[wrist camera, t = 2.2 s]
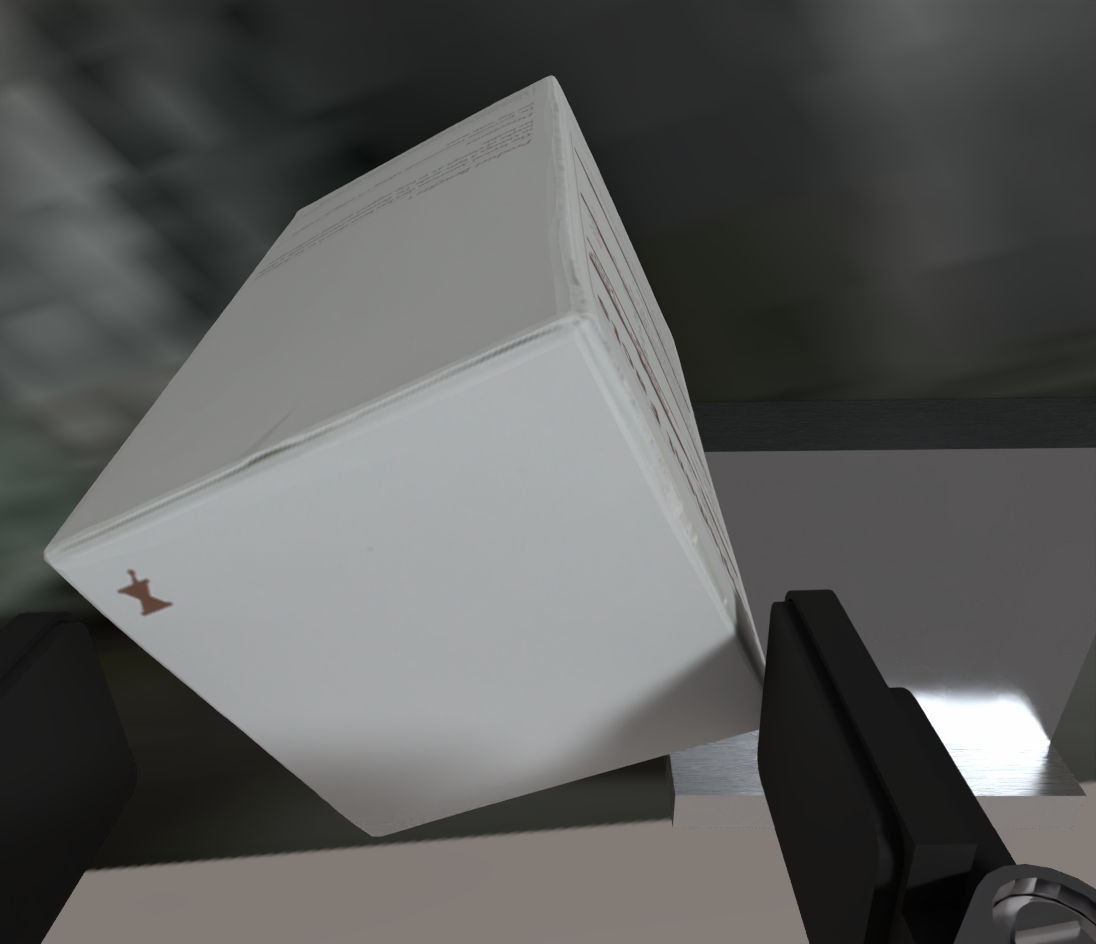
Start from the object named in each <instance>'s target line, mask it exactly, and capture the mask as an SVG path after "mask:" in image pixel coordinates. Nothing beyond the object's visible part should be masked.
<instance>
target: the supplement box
mask: <svg viewBox="0 0 1096 944" xmlns="http://www.w3.org/2000/svg"><path fill="white" fill-rule="evenodd" d="M44 560H45V561H46V562H47V563H48V564H49V565H51V566H52V567H53V568H54V569H55V570H56V571H57V572H58V573H59V574H60V575H61V576H62V577H63V578H64V579H66V580H67V581H68V582H69V583H70V584H71V585H72V586H73V587H74V588H75V589H76V590H77V591H78V592H79V593H81V594H82V595H83V596H84V597H85V598H86V599H87V600H88V601H89V602H90V603H91V604H92V605H93V606H94V607H96V608H97V609H98V610H99V611H100V612H101V613H102V614H103V615H104V616H105V617H107V618H108V619H109V620H110V621H111V622H112V623H114V624H115V625H116V626H117V627H118V628H119V629H121V630H122V631H123V632H124V633H125V634H126V635H127V636H129V637H130V638H131V639H132V640H133V641H134V642H136V643H137V644H138V645H139V646H140V647H141V648H143V649H144V650H145V651H146V652H147V653H148V654H150V655H151V656H152V657H153V658H155V659H156V660H157V661H158V662H159V663H161V664H162V665H163V666H164V667H165V668H167V669H168V670H169V671H170V672H172V673H173V674H174V675H175V676H176V677H178V678H179V679H180V680H181V681H182V682H184V683H185V684H186V685H187V686H188V687H190V688H191V689H192V690H193V691H194V692H196V693H197V694H198V695H199V696H200V697H202V698H203V699H204V700H205V701H206V702H208V703H209V704H210V705H211V706H212V707H213V708H215V709H216V710H217V711H218V712H220V713H221V714H222V715H223V716H225V717H226V718H227V719H228V720H230V721H231V722H232V723H233V724H235V725H236V726H237V727H238V728H239V729H241V730H242V731H243V732H244V733H245V734H247V735H248V736H249V737H250V738H251V739H252V740H254V741H255V742H256V743H257V744H258V745H259V746H261V747H262V748H263V749H264V750H265V751H267V752H268V753H269V754H270V755H271V756H273V757H274V758H275V759H276V760H277V761H279V762H280V763H281V764H282V765H283V766H285V767H286V768H287V769H288V770H289V771H291V772H292V773H293V774H294V775H296V776H297V777H298V778H299V779H300V780H302V781H303V782H304V783H305V784H306V785H308V786H309V787H310V788H312V789H313V790H314V791H315V792H316V793H317V794H318V795H319V796H320V797H321V798H323V799H324V800H326V801H327V802H328V803H329V804H330V805H331V806H332V807H333V808H335V809H336V810H337V811H338V812H339V813H341V814H342V815H343V816H345V817H346V818H347V819H348V820H350V821H351V822H352V823H354V824H355V825H356V826H358V827H359V828H361V829H362V830H364V831H365V832H366V833H368V834H369V835H371V836H384V835H387V834H391V833H395V832H398V831H402V830H405V829H408V828H412V827H415V826H418V825H421V824H425V823H428V822H431V821H434V820H438V819H441V818H445V817H449V816H452V815H455V814H459V813H462V812H465V811H469V810H472V809H476V808H480V807H483V806H487V805H490V804H494V803H497V802H501V801H504V800H508V799H511V798H515V797H518V796H522V795H525V794H529V793H533V792H536V791H540V790H543V789H547V788H550V787H554V786H557V785H561V784H564V783H568V782H572V781H575V780H579V779H582V778H586V777H589V776H593V775H596V774H600V773H604V772H607V771H611V770H614V769H618V768H621V767H625V766H628V765H632V764H636V763H639V762H643V761H646V760H650V759H653V758H657V757H660V756H664V755H668V754H671V753H675V752H678V751H682V750H685V749H689V748H693V747H696V746H700V745H704V744H708V743H712V742H715V741H719V740H723V739H727V738H730V737H734V736H738V735H741V734H745V733H749V732H752V731H756V730H759V727H760V717H761V706H762V696H763V685H764V675H765V664H766V662H765V658H764V655H763V652H762V649H761V645H760V642H759V639H758V635H757V632H756V629H755V625H754V622H753V618H752V615H751V612H750V608H749V605H748V601H747V597H746V594H745V590H744V587H743V583H742V580H741V576H740V573H739V570H738V566H737V563H736V560H735V556H734V553H733V550H732V546H731V543H730V540H729V536H728V533H727V530H726V526H725V523H724V520H723V517H722V513H721V510H720V507H719V503H718V500H717V497H716V493H715V490H714V487H713V483H712V480H711V476H710V473H709V469H708V465H707V462H706V458H705V455H704V451H703V447H702V443H701V440H700V436H699V432H698V428H697V425H696V421H695V418H694V413H693V409H692V407H691V403H690V399H689V395H688V391H687V388H686V384H685V380H684V376H683V372H682V369H681V365H680V361H679V357H678V354H677V350H676V347H675V344H674V340H673V337H672V335H671V333H670V330H669V328H668V326H667V324H666V322H665V320H664V317H663V315H662V313H661V311H660V308H659V306H658V304H657V302H656V299H655V297H654V295H653V292H652V290H651V288H650V285H649V283H648V281H647V279H646V276H645V274H644V272H643V269H642V267H641V265H640V263H639V260H638V258H637V256H636V253H635V251H634V249H633V246H632V244H631V242H630V240H629V237H628V235H627V233H626V231H625V228H624V226H623V224H622V222H621V219H620V217H619V215H618V213H617V210H616V208H615V206H614V204H613V201H612V199H611V197H610V195H609V192H608V190H607V188H606V186H605V183H604V181H603V179H602V176H601V174H600V172H599V169H598V167H597V165H596V163H595V161H594V158H593V156H592V154H591V152H590V150H589V148H588V146H587V143H586V141H585V139H584V137H583V134H582V132H581V130H580V128H579V125H578V123H577V121H576V119H575V116H574V114H573V112H572V110H571V108H570V106H569V104H568V101H567V99H566V97H565V95H564V93H563V91H562V89H561V87H560V85H559V83H558V82H557V80H556V78H555V77H554V76H548V77H546V78H544V79H542V80H540V81H538V82H536V83H534V84H532V85H530V86H528V87H526V88H524V89H522V90H520V91H518V92H516V93H514V94H512V95H510V96H508V97H506V98H504V99H502V100H500V101H498V102H496V103H494V104H493V105H491V106H489V107H487V108H485V109H483V110H481V111H480V112H478V113H476V114H474V115H472V116H470V117H468V118H467V119H465V120H463V121H461V122H459V123H457V124H455V125H453V126H452V127H450V128H448V129H446V130H444V131H442V132H441V133H439V134H437V135H435V136H433V137H432V138H430V139H428V140H426V141H424V142H422V143H421V144H419V145H417V146H415V147H413V148H412V149H410V150H408V151H406V152H404V153H402V154H401V155H399V156H397V157H395V158H393V159H392V160H390V161H388V162H386V163H384V164H383V165H381V166H379V167H377V168H375V169H373V170H372V171H370V172H368V173H366V174H364V175H363V176H361V177H359V178H357V179H355V180H353V181H352V182H350V183H348V184H346V185H344V186H343V187H341V188H339V189H337V190H335V191H334V192H332V193H330V194H328V195H326V196H325V197H323V198H321V199H319V200H317V201H316V202H314V203H312V204H310V205H308V206H306V207H305V208H303V209H301V210H299V211H298V212H297V213H296V215H295V217H294V218H293V220H292V221H291V222H290V224H289V225H288V226H287V228H286V229H285V230H284V232H283V233H282V234H281V236H280V237H279V238H278V239H277V240H276V242H275V243H274V244H273V246H272V247H271V248H270V250H269V251H268V253H267V254H266V256H265V257H264V258H263V259H262V261H261V262H260V263H259V265H258V266H257V267H256V269H255V270H254V272H253V273H252V274H251V276H250V277H249V278H248V279H247V281H246V282H245V283H244V285H243V286H242V287H241V289H240V290H239V291H238V293H237V294H236V295H235V297H234V298H233V299H232V301H231V302H230V303H229V305H228V306H227V307H226V309H225V310H224V311H223V313H222V314H221V315H220V317H219V318H218V319H217V321H216V322H215V323H214V325H213V326H212V327H211V328H210V330H209V331H208V332H207V334H206V335H205V336H204V338H203V339H202V340H201V342H200V343H199V345H198V346H197V347H196V349H195V350H194V351H193V353H192V354H191V355H190V357H189V358H188V359H187V361H186V362H185V363H184V365H183V366H182V367H181V368H180V370H179V371H178V372H177V374H176V375H175V376H174V377H173V379H172V380H171V382H170V383H169V384H168V386H167V387H166V388H165V390H164V391H163V392H162V394H161V395H160V396H159V398H158V399H157V400H156V402H155V403H154V404H153V406H152V407H151V408H150V410H149V411H148V412H147V414H146V415H145V416H144V418H143V419H142V420H141V422H140V423H139V424H138V426H137V427H136V428H135V430H134V431H133V432H132V434H131V435H130V436H129V437H128V439H127V440H126V441H125V443H124V444H123V445H122V447H121V448H120V449H119V451H118V452H117V453H116V455H115V456H114V457H113V459H112V460H111V461H110V463H109V464H108V465H107V466H106V468H105V469H104V470H103V472H102V473H101V474H100V476H99V477H98V478H97V480H96V481H95V482H94V484H93V485H92V486H91V488H90V489H89V490H88V492H87V493H86V494H85V496H84V497H83V498H82V500H81V501H80V502H79V504H78V505H77V506H76V508H75V509H74V510H73V512H72V513H71V515H70V516H69V517H68V519H67V520H66V521H65V523H64V524H63V525H62V527H61V528H60V529H59V531H58V532H57V534H56V535H55V536H54V538H53V539H52V540H51V542H50V543H49V544H48V546H47V547H46V549H45V550H44Z"/></svg>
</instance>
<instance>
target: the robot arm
mask: <svg viewBox="0 0 1096 944" xmlns="http://www.w3.org/2000/svg"><path fill="white" fill-rule="evenodd" d="M757 763H758V771H759V777H760V781H761V784H762V787H763V791H764V794H765V797H766V801H767V804H768V807H769V811H770V814H771V817H772V821H773V824H774V827H775V831H776V834H777V837H778V841H779V843H780V847H781V851H782V854H783V857H784V861H785V864H786V867H787V871H788V874H789V877H790V880H791V884H792V887H793V890H794V894H795V897H796V900H797V904H798V907H799V910H800V914H801V917H802V920H803V923H804V927H805V930H806V934H807V937H808V940H809V944H1096V889H1095V888H1093V887H1091V886H1089V885H1088V884H1086V883H1084V882H1083V881H1081V880H1079V879H1078V878H1075V877H1072V876H1070V875H1067V874H1065V873H1062V872H1059V871H1057V870H1054V869H1051V868H1046V867H1040V866H1034V865H1028V864H1021V865H1016V863H1015V861H1014V860H1013V858H1012V857H1011V855H1010V853H1009V852H1008V850H1007V848H1006V847H1005V845H1004V843H1003V842H1002V840H1001V838H1000V837H999V835H998V833H997V832H996V830H995V828H994V827H993V825H992V823H991V822H990V820H989V818H988V817H987V815H986V814H985V812H984V810H983V809H982V807H981V805H980V804H979V802H978V800H977V799H976V797H975V795H974V794H973V792H972V790H971V789H970V787H969V785H968V784H967V782H966V780H965V779H964V777H963V775H962V774H961V772H960V771H959V769H958V767H957V766H956V764H955V762H954V761H953V759H952V757H951V756H950V754H949V752H948V751H947V749H946V747H945V746H944V744H943V742H942V741H941V739H940V737H939V736H938V734H937V732H936V731H935V729H934V727H933V726H932V724H931V723H930V721H929V719H928V718H927V716H926V714H925V713H924V711H923V709H922V708H921V706H920V704H919V703H918V701H917V699H916V698H915V697H914V696H913V694H912V693H911V692H910V691H909V690H907V689H905V688H904V687H892V688H889V687H888V685H887V684H886V682H885V680H884V678H883V677H882V675H881V673H880V671H879V670H878V668H877V666H876V664H875V663H874V661H873V659H872V657H871V656H870V654H869V652H868V650H867V649H866V647H865V645H864V643H863V642H862V640H861V638H860V636H859V634H858V633H857V631H856V629H855V627H854V626H853V624H852V622H851V620H850V619H849V617H848V615H847V613H846V612H845V610H844V608H843V606H842V605H841V603H840V601H839V599H838V598H837V596H836V594H835V593H834V592H833V590H830V589H823V590H789V591H788V592H787V593H786V596H785V600H784V601H782V602H773V604H772V606H771V612H770V622H769V633H768V643H767V654H766V664H765V675H764V685H763V696H762V706H761V717H760V727H759V738H758V748H757ZM136 780H137V769H136V764H135V761H134V759H133V756H132V753H131V750H130V747H129V744H128V742H127V739H126V736H125V733H124V730H123V727H122V725H121V722H120V719H119V716H118V713H117V710H116V707H115V705H114V702H113V699H112V696H111V693H110V690H109V688H108V685H107V682H106V679H105V676H104V673H103V671H102V668H101V665H100V662H99V659H98V656H97V654H96V651H95V648H94V645H93V642H92V639H91V636H90V634H89V631H88V629H87V627H86V626H85V625H84V624H83V623H80V622H77V621H76V619H75V618H74V617H73V616H72V615H71V614H70V613H67V612H38V613H23V614H19V615H18V616H16V617H15V618H13V619H12V620H11V621H10V622H9V623H8V624H7V625H6V626H5V627H4V628H3V629H2V630H1V631H0V944H41V942H42V941H43V939H44V938H45V936H46V934H47V932H48V931H49V929H50V928H51V926H52V925H53V923H54V921H55V920H56V918H57V916H58V915H59V913H60V912H61V910H62V908H63V907H64V905H65V903H66V902H67V900H68V898H69V897H70V895H71V894H72V892H73V890H74V889H75V887H76V885H77V884H78V882H79V880H80V879H81V877H82V876H83V874H84V872H85V871H86V869H87V867H88V866H89V864H90V863H91V861H92V859H93V858H94V856H95V854H96V853H97V851H98V850H99V848H100V846H101V845H102V843H103V841H104V840H105V838H106V836H107V835H108V833H109V832H110V830H111V828H112V827H113V825H114V823H115V822H116V820H117V819H118V817H119V815H120V814H121V812H122V810H123V809H124V807H125V805H126V804H127V802H128V801H129V799H130V797H131V795H132V793H133V791H134V789H135V785H136Z"/></svg>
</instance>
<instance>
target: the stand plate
mask: <svg viewBox="0 0 1096 944" xmlns="http://www.w3.org/2000/svg"><path fill="white" fill-rule="evenodd" d="M691 407H692V409H693V413H694V418H695V421H696V425H697V428H698V432H699V436H700V440H701V443H702V447H703V451H704V455H705V458H706V462H707V465H708V469H709V473H710V476H711V480H712V483H713V487H714V490H715V493H716V497H717V500H718V503H719V507H720V510H721V513H722V517H723V520H724V523H725V526H726V530H727V533H728V536H729V540H730V543H731V546H732V550H733V553H734V556H735V560H736V563H737V566H738V570H739V573H740V576H741V580H742V583H743V587H744V590H745V594H746V597H747V601H748V605H749V608H750V612H751V615H752V618H753V622H754V625H755V629H756V632H757V635H758V639H759V642H760V645H761V649H762V652H763V655H764V658H765V662H766V654H767V643H768V633H769V622H770V612H771V606H772V604H773V602H782V601H784V600H785V596H786V593H787V592H788V591H789V590H823V589H830V590H833V592H834V593H835V594H836V596H837V598H838V599H839V601H840V603H841V605H842V606H843V608H844V610H845V612H846V613H847V615H848V617H849V619H850V620H851V622H852V624H853V626H854V627H855V629H856V631H857V633H858V634H859V636H860V638H861V640H862V642H863V643H864V645H865V647H866V649H867V650H868V652H869V654H870V656H871V657H872V659H873V661H874V663H875V664H876V666H877V668H878V670H879V671H880V673H881V675H882V677H883V678H884V680H885V682H886V684H887V685H888V687H889V688H892V687H904V688H905V689H907V690H909V691H910V692H911V693H912V694H913V696H914V697H915V698H916V699H917V701H918V703H919V704H920V706H921V708H922V709H923V711H924V713H925V714H926V716H927V718H928V719H929V721H930V723H931V724H932V726H933V727H934V729H935V731H936V732H937V734H938V736H939V737H940V739H941V741H942V742H943V744H944V746H945V747H946V749H947V751H948V752H949V754H950V756H951V757H952V759H953V761H954V762H955V764H956V766H957V767H958V769H959V771H960V772H961V774H962V775H963V777H964V779H965V780H966V782H967V784H968V785H969V787H970V789H971V790H972V792H973V794H974V795H975V797H976V799H977V800H978V802H979V804H980V805H981V807H982V809H983V810H984V812H985V814H986V815H987V817H988V818H989V820H990V822H991V823H992V825H993V827H994V828H995V829H1071V828H1072V826H1073V824H1074V822H1075V820H1076V818H1077V816H1078V813H1079V811H1080V809H1081V807H1082V805H1083V803H1084V800H1085V799H1086V797H1087V796H1086V794H1085V793H1084V791H1083V790H1082V788H1081V787H1080V785H1079V784H1078V782H1077V781H1076V779H1075V778H1074V776H1073V775H1072V773H1071V772H1070V770H1069V769H1068V767H1067V766H1066V764H1065V763H1064V762H1063V760H1062V759H1061V757H1060V756H1059V754H1058V753H1057V751H1056V750H1055V748H1054V747H1053V745H1052V744H1051V742H1050V741H1051V739H1052V736H1053V734H1054V732H1055V729H1056V727H1057V724H1058V722H1059V720H1060V717H1061V715H1062V712H1063V710H1064V708H1065V705H1066V703H1067V701H1068V698H1069V696H1070V693H1071V691H1072V689H1073V686H1074V684H1075V681H1076V679H1077V677H1078V674H1079V672H1080V669H1081V667H1082V665H1083V662H1084V660H1085V657H1086V655H1087V653H1088V650H1089V648H1090V646H1091V643H1092V641H1093V638H1094V636H1095V634H1096V397H1094V398H1014V399H934V400H854V401H775V402H695V403H691ZM758 738H759V730H756V731H752V732H749V733H745V734H741V735H738V736H734V737H730V738H727V739H723V740H719V741H715V742H712V743H708V744H704V745H700V746H696V747H693V748H689V749H685V750H682V751H678V752H675V753H671V754H668V755H664V756H663V759H664V766H665V774H666V781H667V789H668V796H669V804H670V811H671V819H672V826H673V828H775V827H774V824H773V821H772V817H771V814H770V811H769V807H768V804H767V801H766V797H765V794H764V791H763V787H762V784H761V781H760V777H759V771H758V763H757V748H758Z"/></svg>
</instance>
